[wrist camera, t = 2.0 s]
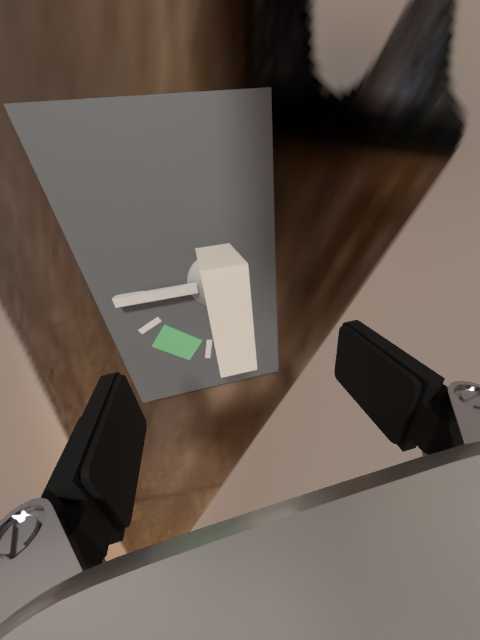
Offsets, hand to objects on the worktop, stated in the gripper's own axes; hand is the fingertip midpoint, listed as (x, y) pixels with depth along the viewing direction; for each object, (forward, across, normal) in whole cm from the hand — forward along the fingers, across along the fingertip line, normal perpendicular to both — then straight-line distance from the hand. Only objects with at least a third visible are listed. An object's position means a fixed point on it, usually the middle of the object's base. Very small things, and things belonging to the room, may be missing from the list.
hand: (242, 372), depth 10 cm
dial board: (+12, +2, -1) cm, 12 cm away
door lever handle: (+9, +3, -1) cm, 10 cm away
